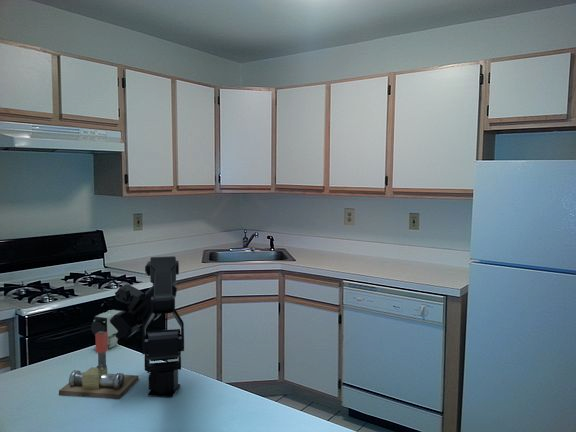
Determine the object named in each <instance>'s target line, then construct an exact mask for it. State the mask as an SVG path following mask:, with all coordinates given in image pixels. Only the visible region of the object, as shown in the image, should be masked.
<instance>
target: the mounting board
mask: <svg viewBox="0 0 576 432" xmlns="http://www.w3.org/2000/svg"><path fill="white" fill-rule="evenodd" d="M82 373H84V371H83V372H82ZM109 374H110V375H116V374H117V373H109ZM124 377H125V379H124V384H123V386H122V387H120V388H119V389H114V387H101V388H100V389H99V390H95V389H83V388H82V385H75V386H70V385H69V382H68V383H67V384H65V385H64V386H63V387H62V388H60V389H59V390H58V395H59V396H69V397H79V398H80V397H84V398H85V397H86V398H96V399H98V398H99V399H112V400H113V399H115V400H120V399H121V398H122V397H123V396H124V395H125V394H126V393H127V392H128V391H129V390H130V389H131V388H133V386H134V385H135V384H136V383H138V381H139V380H140V378H139V375H133V374H124Z"/></svg>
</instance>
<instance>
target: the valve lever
mask: <svg viewBox="0 0 576 432" xmlns="http://www.w3.org/2000/svg"><path fill="white" fill-rule="evenodd" d="M94 338H95V353H96V354H97V364H98V365H96V367H97V368H107V369H108V365H107V351H108V350H109V348H108V332H102V331H100V332H98V333H96V334H95V336H94Z"/></svg>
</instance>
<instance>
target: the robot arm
mask: <svg viewBox="0 0 576 432" xmlns="http://www.w3.org/2000/svg"><path fill="white" fill-rule="evenodd" d="M179 266H180V263H179V260H177V259H176V256H152V257H150V260H149V261H147V263H146V265H145V266H144V271H145V274H146V275H147V276H148V277H149V278H150V283H151V284H152V285H151V286H150V288H149V289H148V290H147V291H145V292H142V291H141V289H138V288H136V287H135V286H132V285H130V284H123V285H122V286H120V287H119V288H118V289H117V290H116V291H115V292H114V295H115V299H116V301H119V302H120V303H124V304H126V305H128V307H127V309H128V310H127V311H125V310H121V312H119V313H117V314H115V315H114V316H113V317H112V318H111V319H110V323H111V324H112V325H113V326H114V327H115V328H116V329H117V330H118V332H117V333H116V334H115V335H116V338H117V339H118V340H120V339H122V338H125V339H128V338H130V337H131V336H132V335H134V334H136V333H137V332H139V331H140V330H142V331H141V332H142V333H141V334H142V335H141V354H142V355H144V371H146V373H147V374H148V390H149V392H147V396H148V397H160V398H162V397H163V398H173V396H174V395H175V394H176V392H177V391H178V390H179V389H180V388H181V384H180V383H179V371H182V355H181V354H182V352H184V351H185V327H184V326H185V324H184V323H185V322H184V321H183V319H182V318H181V316H180V315H179V313H178V311H177V310H176V297H177V291H178V288H177V285H176V283H175V282H177V276H178V275H179V274H180V273H179V272H180V268H179ZM162 314H163V315H164V314H172V316H173V318H174V319H175V321H176V322H177V323H178V325H179V327H180V328H175V329H174V328H173V329H161V330H160V329H159V330H148V331H147V330H146V329H147V328H148V326H149V324H151V322H152V320H153V321H155V320H157V319H158V318H159V317H160V316H161V315H162ZM169 360H170V361H169ZM171 360H172V361H171ZM157 361H158V362H157ZM159 361H160V362H159Z"/></svg>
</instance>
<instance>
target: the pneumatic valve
mask: <svg viewBox="0 0 576 432" xmlns="http://www.w3.org/2000/svg"><path fill="white" fill-rule="evenodd" d="M121 311H122V309H121V310H120V309H119V310H118V309H111V310H110V309H109V310H107V311H106V312H102V313H99V314H97V315H95V316H93V322H92V323H91V326H90V327H91V332H92V334H93V336H94V337H95V334H96V333H98V332H100V331H102V332H108V349H112V348H114V347H116V346H118V340H119V339H117V338H116V334H117V332H118V330H117V329H116V328H115V327H114V326H113V325H112V324H111V323H110V319H111V318H112V317H113V316H114V315H115V314H117V313H119V312H121Z"/></svg>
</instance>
